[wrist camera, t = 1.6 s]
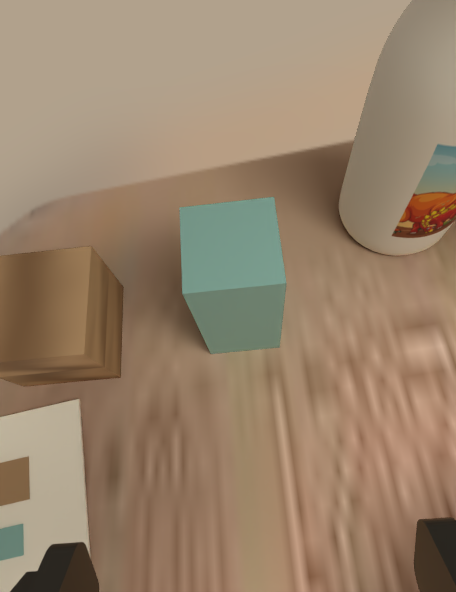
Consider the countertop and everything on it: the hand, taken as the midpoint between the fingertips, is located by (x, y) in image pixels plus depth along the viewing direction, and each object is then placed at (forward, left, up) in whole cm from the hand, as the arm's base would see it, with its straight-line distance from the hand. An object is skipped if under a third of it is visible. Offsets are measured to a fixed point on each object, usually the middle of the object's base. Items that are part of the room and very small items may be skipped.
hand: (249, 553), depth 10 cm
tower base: (+12, -11, -15) cm, 22 cm away
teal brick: (0, -11, -15) cm, 18 cm away
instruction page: (+15, 0, -14) cm, 21 cm away
